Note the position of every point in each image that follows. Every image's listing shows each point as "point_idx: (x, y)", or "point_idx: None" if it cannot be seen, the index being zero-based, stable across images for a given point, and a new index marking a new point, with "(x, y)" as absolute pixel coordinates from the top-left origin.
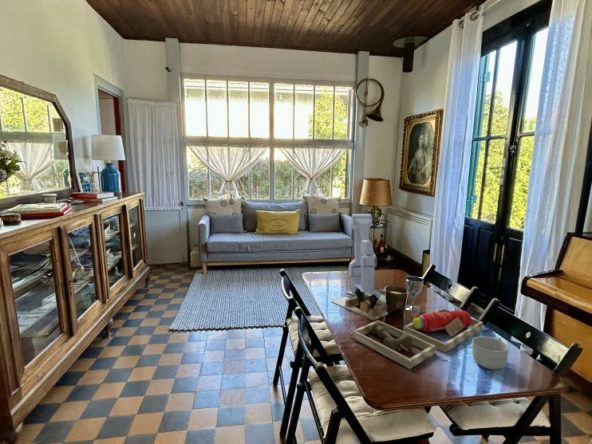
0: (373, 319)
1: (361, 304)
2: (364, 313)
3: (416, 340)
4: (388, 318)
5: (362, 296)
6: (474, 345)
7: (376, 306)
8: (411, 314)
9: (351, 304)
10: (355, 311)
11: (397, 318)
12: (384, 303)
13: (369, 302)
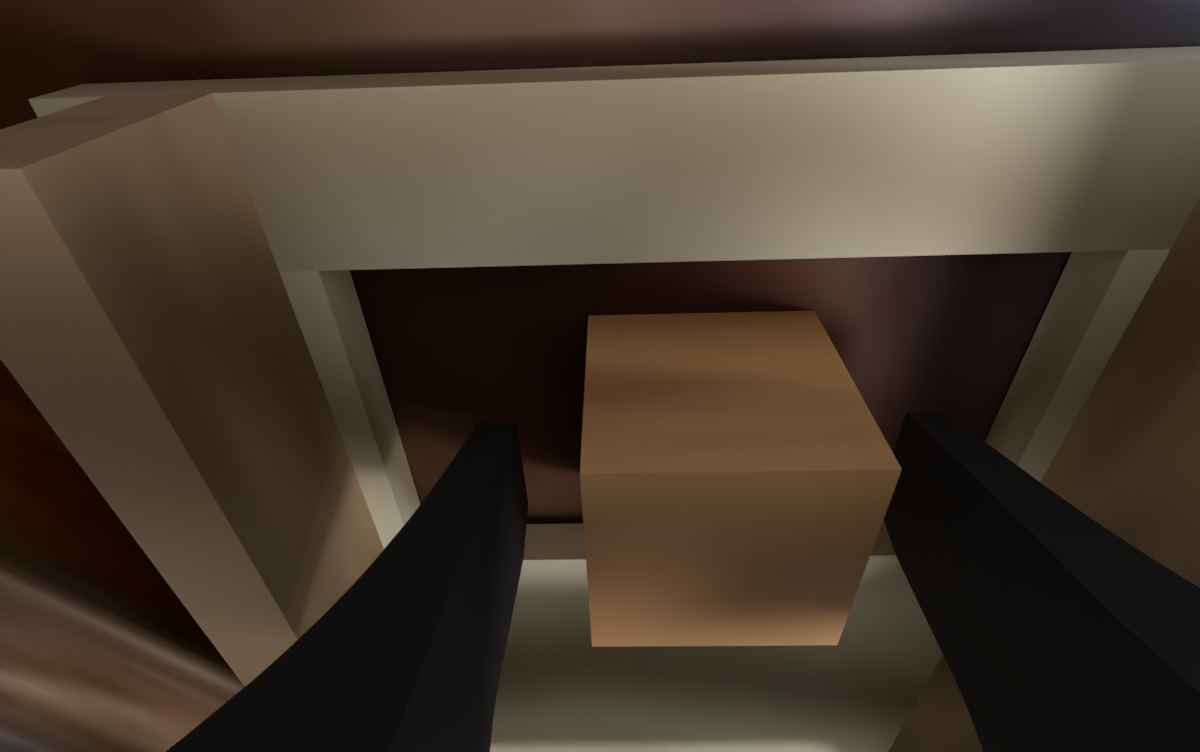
0: (66, 106)
1: (829, 423)
2: (483, 154)
3: None
4: None
5: (1008, 728)
6: None
7: None
8: None
9: (1183, 285)
10: (836, 65)
11: (107, 559)
12: (620, 735)
13: (672, 620)
